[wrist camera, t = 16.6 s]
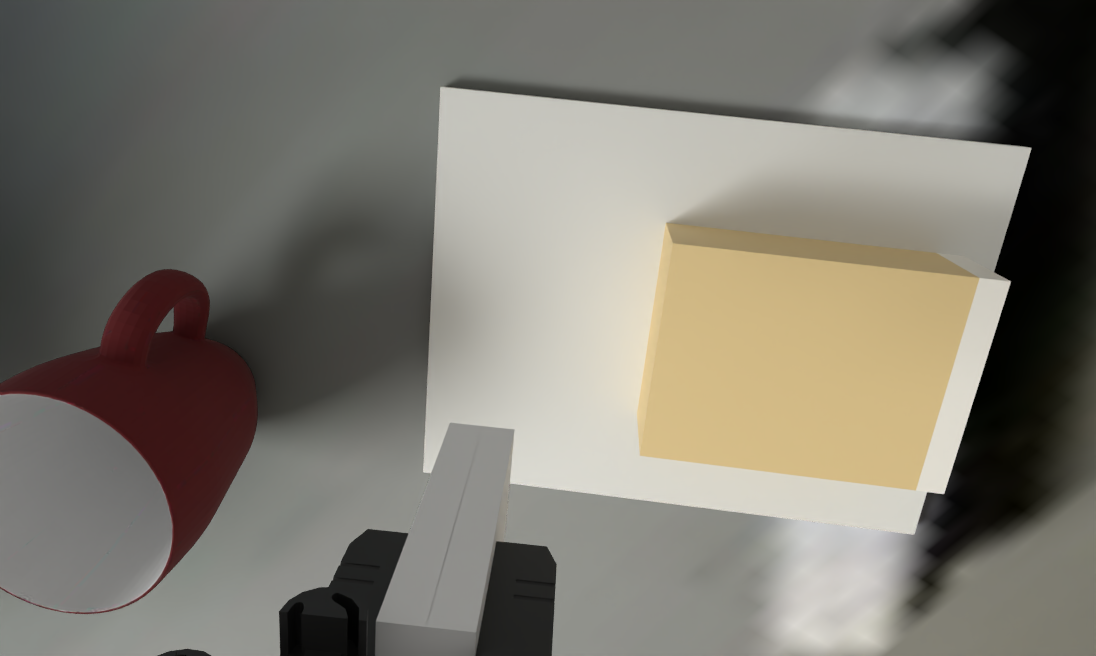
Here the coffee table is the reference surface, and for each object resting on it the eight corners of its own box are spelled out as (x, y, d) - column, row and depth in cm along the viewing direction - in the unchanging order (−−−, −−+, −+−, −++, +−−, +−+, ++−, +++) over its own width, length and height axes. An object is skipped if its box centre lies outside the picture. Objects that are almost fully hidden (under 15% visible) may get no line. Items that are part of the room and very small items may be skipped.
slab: (639, 455, 28) (944, 494, 27) (672, 243, 25) (1011, 281, 24) (636, 414, 31) (908, 447, 30) (665, 222, 28) (963, 255, 28)
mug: (119, 218, 31) (-99, 285, 21) (313, 257, 31) (180, 342, 21) (122, 444, 34) (-64, 587, 25) (295, 480, 34) (174, 638, 25)
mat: (426, 465, 33) (423, 472, 33) (444, 86, 28) (440, 86, 27) (909, 526, 32) (914, 534, 32) (1022, 146, 27) (1031, 147, 26)
